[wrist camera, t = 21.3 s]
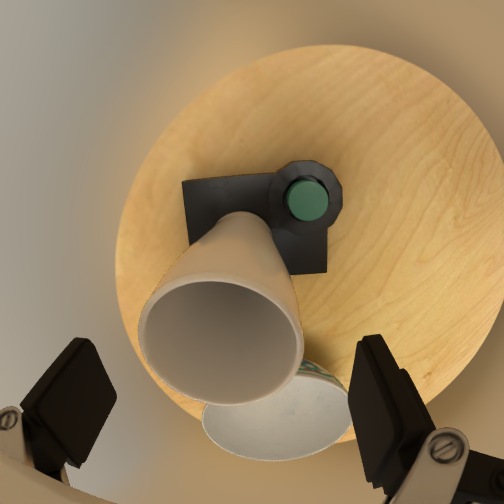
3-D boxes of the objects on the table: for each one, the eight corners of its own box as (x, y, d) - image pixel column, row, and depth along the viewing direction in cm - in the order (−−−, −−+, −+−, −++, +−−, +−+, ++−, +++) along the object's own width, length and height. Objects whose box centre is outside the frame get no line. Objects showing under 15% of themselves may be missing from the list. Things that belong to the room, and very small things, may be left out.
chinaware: (226, 418, 34) (220, 463, 27) (198, 331, 29) (182, 381, 22) (337, 406, 33) (348, 451, 26) (340, 314, 28) (361, 362, 21)
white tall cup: (253, 290, 26) (245, 425, 12) (188, 250, 25) (115, 360, 11) (297, 230, 24) (343, 332, 10) (229, 185, 23) (180, 233, 9)
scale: (184, 169, 24) (174, 171, 21) (332, 159, 24) (341, 160, 21) (197, 274, 27) (191, 288, 25) (333, 266, 27) (341, 279, 24)
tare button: (285, 180, 22) (287, 181, 20) (323, 178, 22) (327, 180, 20) (287, 217, 23) (289, 222, 21) (324, 215, 23) (328, 219, 21)
